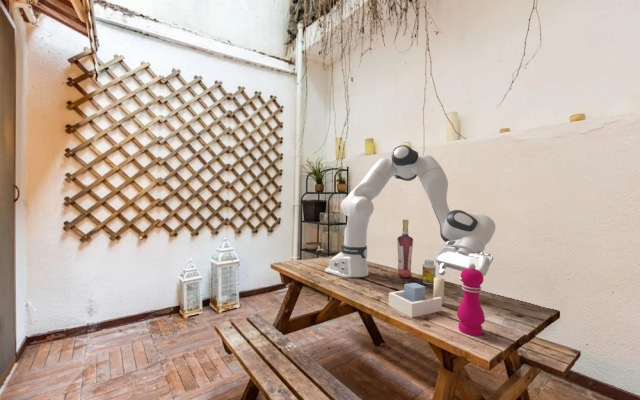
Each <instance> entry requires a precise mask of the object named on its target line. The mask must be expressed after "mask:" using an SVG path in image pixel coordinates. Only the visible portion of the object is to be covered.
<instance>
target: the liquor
mask: <svg viewBox="0 0 640 400" xmlns="http://www.w3.org/2000/svg"><path fill="white" fill-rule="evenodd" d="M409 221H410V220H409V219H402V232H401V233H402V234H401V235H400V236H398V237H397V239H396V240H397V243H396V244H397V272H396V274H397V276H398V277H399V278H401V279H409V278H410V277H412V273H411V271H412V260H413V259H412V257H413V247H414V246H413V245H414V238H413V237H411V235H409Z"/></svg>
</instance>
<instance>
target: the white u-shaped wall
mask: <svg viewBox="0 0 640 400" xmlns="http://www.w3.org/2000/svg"><path fill="white" fill-rule="evenodd" d="M388 306H390V307H391V308H393V309H395V310H396V311H399V312H400V313H402V314H404V315H406V316H408V317H409V318H415V317H421V316H424V315H429V314H434V313H438V312H442V310H443V309H442V308H443V305H442V298H441V297H435V298H433V297H432V298H427V299H426V298H425V300H420V301H415V302H411V301H409V300H407V299H404V289H403V290H398V291H391V292H389V293H388Z"/></svg>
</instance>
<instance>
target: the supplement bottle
mask: <svg viewBox="0 0 640 400" xmlns="http://www.w3.org/2000/svg"><path fill="white" fill-rule="evenodd" d="M436 268H437V267H436V265H435V261H434V259H433V260H432V259H424V263H423V264H422V274H421V275H422V278H421V280H422V283H423V284H427V285H434V278H436V272H437V269H436Z"/></svg>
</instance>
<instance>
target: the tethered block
mask: <svg viewBox="0 0 640 400" xmlns="http://www.w3.org/2000/svg"><path fill="white" fill-rule="evenodd" d="M403 290H404V299H407V300H409V301H411V302H415V301H420V300H425V299H426V286H424V285H422V284H419V283H417V282H410V283H405V284H403ZM432 291H433V295H432V296H433V297H432V298H435V297H441V298H442V306H443V305H444V304H445V302H444V301H445V279H444V278H443V277H437V276H435V278H434V284H433V290H432Z"/></svg>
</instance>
